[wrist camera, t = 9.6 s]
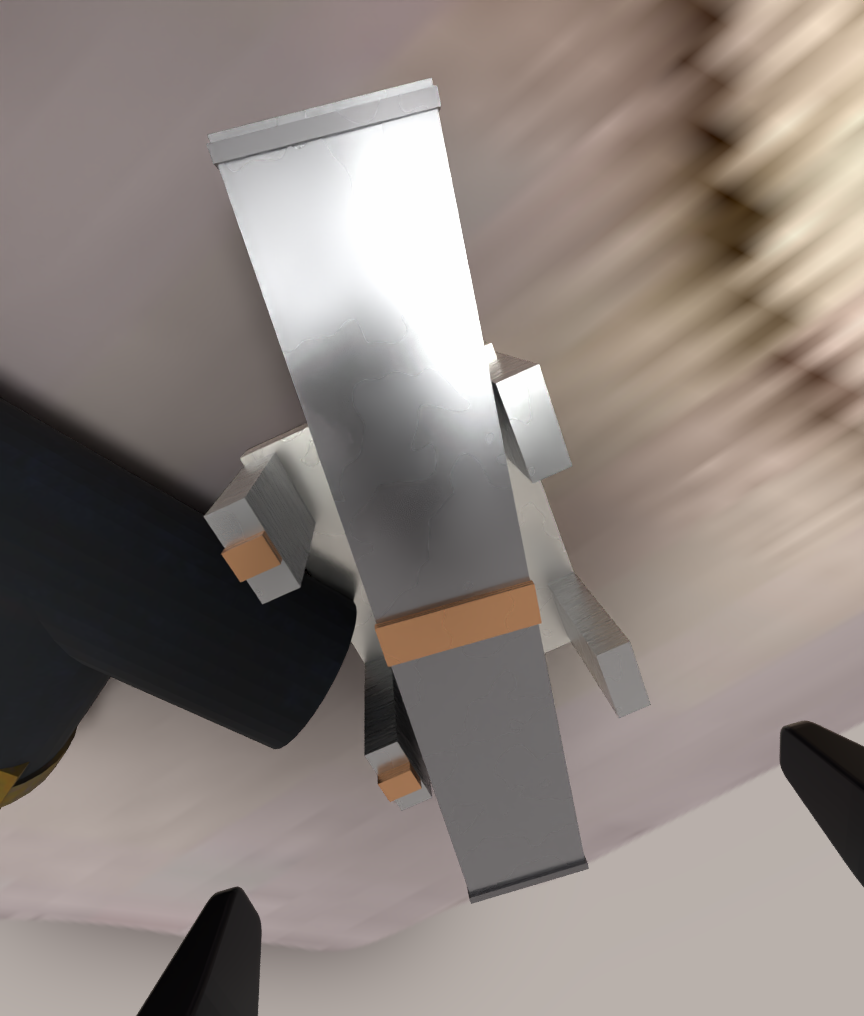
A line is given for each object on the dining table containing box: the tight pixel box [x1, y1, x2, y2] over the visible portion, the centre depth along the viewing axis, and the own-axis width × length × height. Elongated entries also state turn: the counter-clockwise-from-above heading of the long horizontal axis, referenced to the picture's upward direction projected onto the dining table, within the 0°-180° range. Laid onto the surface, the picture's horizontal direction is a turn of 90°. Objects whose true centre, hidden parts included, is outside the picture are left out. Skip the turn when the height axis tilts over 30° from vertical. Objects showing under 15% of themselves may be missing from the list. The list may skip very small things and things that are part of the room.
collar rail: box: [204, 342, 651, 811], centre depth 15 cm, size 11×8×5 cm
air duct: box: [207, 78, 588, 904], centre depth 15 cm, size 22×4×4 cm, turn 14°
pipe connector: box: [0, 398, 357, 809], centre depth 15 cm, size 12×5×15 cm
